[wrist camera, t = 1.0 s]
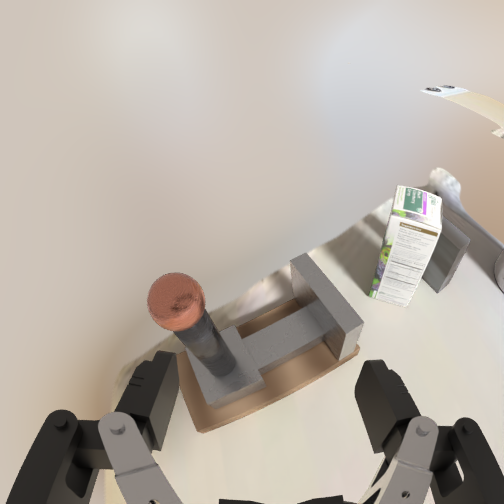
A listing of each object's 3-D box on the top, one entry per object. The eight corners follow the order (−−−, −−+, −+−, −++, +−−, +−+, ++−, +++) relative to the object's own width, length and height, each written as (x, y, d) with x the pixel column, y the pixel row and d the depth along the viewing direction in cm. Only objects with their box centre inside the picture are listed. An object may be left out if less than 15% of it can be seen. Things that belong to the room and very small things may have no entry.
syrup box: (377, 266, 38) (394, 181, 27) (414, 276, 35) (442, 194, 25) (367, 297, 35) (387, 213, 24) (408, 309, 32) (443, 228, 22)
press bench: (405, 241, 40) (417, 196, 33) (448, 283, 33) (470, 239, 26) (176, 363, 33) (142, 331, 26) (203, 433, 26) (168, 421, 20)
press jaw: (307, 289, 35) (300, 174, 23) (353, 351, 28) (385, 247, 16) (190, 347, 32) (118, 254, 20) (221, 421, 25) (138, 371, 13)
